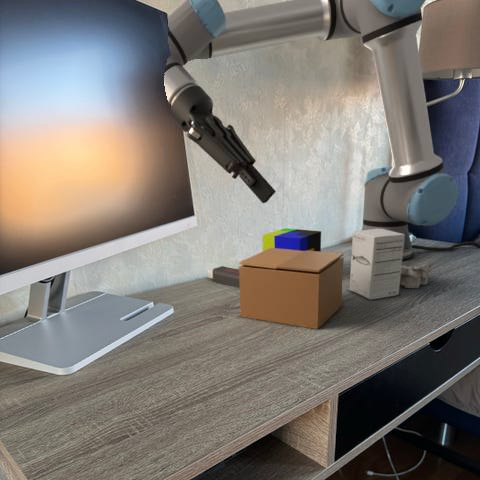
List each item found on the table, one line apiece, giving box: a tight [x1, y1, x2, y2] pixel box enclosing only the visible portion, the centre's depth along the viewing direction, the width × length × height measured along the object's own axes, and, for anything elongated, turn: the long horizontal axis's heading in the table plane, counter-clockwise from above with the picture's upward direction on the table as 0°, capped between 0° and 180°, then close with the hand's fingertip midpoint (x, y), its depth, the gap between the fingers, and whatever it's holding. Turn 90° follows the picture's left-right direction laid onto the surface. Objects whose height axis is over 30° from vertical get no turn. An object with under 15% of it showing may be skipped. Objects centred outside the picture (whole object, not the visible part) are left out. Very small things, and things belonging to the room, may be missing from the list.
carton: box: [238, 251, 345, 330], centre depth 82 cm, size 15×13×10 cm
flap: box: [238, 248, 304, 269], centre depth 82 cm, size 7×13×1 cm, turn 151°
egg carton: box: [399, 264, 432, 289], centre depth 98 cm, size 11×8×4 cm
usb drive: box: [207, 265, 240, 288], centre depth 104 cm, size 5×12×3 cm, turn 48°
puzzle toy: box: [262, 227, 322, 252], centre depth 106 cm, size 10×10×10 cm
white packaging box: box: [349, 229, 405, 301], centre depth 90 cm, size 7×7×13 cm
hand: (269, 197), depth 79 cm, fingers closed
